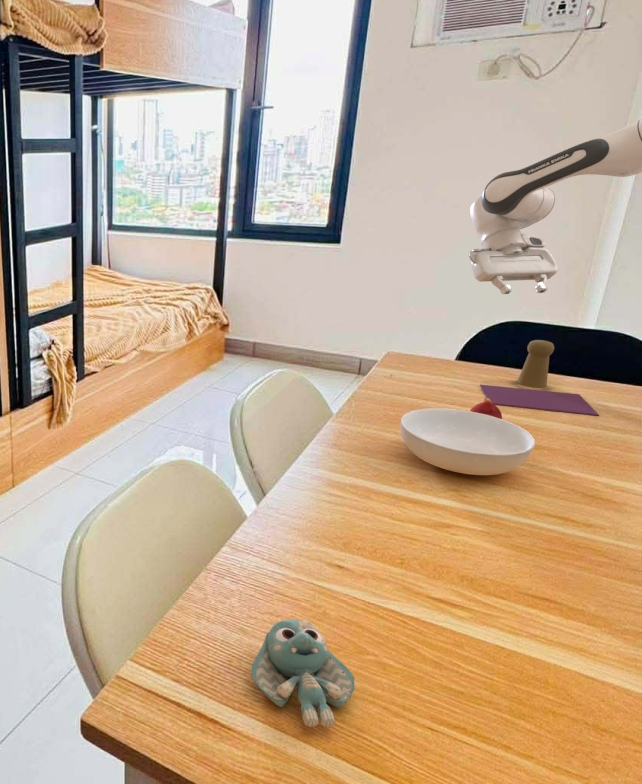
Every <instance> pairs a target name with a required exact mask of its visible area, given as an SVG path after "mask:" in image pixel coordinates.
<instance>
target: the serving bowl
mask: <svg viewBox="0 0 642 784" xmlns="http://www.w3.org/2000/svg"><path fill="white" fill-rule="evenodd" d="M400 433H401V438H402V440H403V442H404V444H405V446H406V447H407V449H409V450H410V452H411V453H412V454H414V455H415V457H418V458H419V459H421V460H422V461H424V462H425V463H428V464H430V465H432V466H434V467H437V468H440V469H443V470H446V471H451V472H454V473H458V474H464V475H473V476H496V475H500V474H502V475H503V474H505V473H509V472H511V471H514V470H515V469H517V468H519V467H521V466H522V465H523V464H524V463H525V462H526V461H528V459H529V458H530V456H531V455H532V452H533V451H534V448H535V446H536V439H535V438H534V437H533V435H532V434H531V433H530V432H529V431H527V430H526V429H525V428H523V427H522V426H519V425H518V424H516V423H512V422H510V421H508V420H506V419H503V418H502V419H499V418H496V417H493V416H489V415H486V414H481V413H476V412H471V411H470V410H464V409H455V408H447V407H446V408H445V407H432V408H431V407H430V408H429V407H428V408H418V409H414V410H411V411H408V412H406V413H404V414H403V416H402V417H401V418H400Z"/></svg>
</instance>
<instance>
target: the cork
mask: <svg viewBox="0 0 642 784" xmlns="http://www.w3.org/2000/svg"><path fill="white" fill-rule="evenodd" d="M526 349H527V352H528V354H527V356H526V359H525V362H524V364H523V367H522V369H521V371H520V373H519V376H518V378H517V380H516V382H517V384H518V385H519V384H520V385H522V386H525V387H528V388H529V387H530V388H537V389H538V388H540V389H541V388H546V387H547V386H548V375H549V366H550V357H551V355H553V353H554V351H555V345H554V343H553V342H551V341H548V340H543V339H534V340H531V341H529V343H528V344H527V348H526Z"/></svg>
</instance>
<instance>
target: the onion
mask: <svg viewBox="0 0 642 784" xmlns="http://www.w3.org/2000/svg"><path fill="white" fill-rule="evenodd" d="M469 411H471V412H476V413H481V414H486V415H489V416H493V417H496V418H499V419H502V420H503V415H502V412H501V410H500V409H499V407H498V405H494V404H493V403H492V402H491V401H490V399H488V398H487V397H485V398H484V400H483V401H482V402H479V403H476V405H474V406H473V407H471V408H470V409H469Z"/></svg>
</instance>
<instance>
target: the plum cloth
mask: <svg viewBox="0 0 642 784" xmlns="http://www.w3.org/2000/svg"><path fill="white" fill-rule="evenodd" d="M479 388H481V391H482V392H483V394H484V395H485V398H488V399H490V401H491V402H492V403H493V404H494V405H496V406H503V407H511V408H513V407H514V408H521V409H532V410H540V411H548V412H549V411H550V412H558V413H566V414H568V413H569V414H577V415H587V416H597V417H599V416H600V413H598V412H597V411H596V409H594V408H593V406H592V405H590V404H589V402H587V401H586V400H585V398H584V397H583V396H582V395H580V393H571V392H561V391H560V392H558V391H552V390H551V391H550V390H541V389H540V390H539V389H530V388H520V387H511V386H510V387H509V386H500V385H492V384H491V385H490V384H482V383H481V384H479Z"/></svg>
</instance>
